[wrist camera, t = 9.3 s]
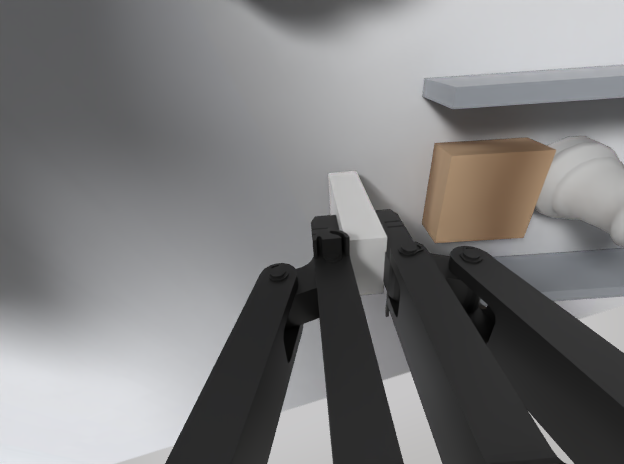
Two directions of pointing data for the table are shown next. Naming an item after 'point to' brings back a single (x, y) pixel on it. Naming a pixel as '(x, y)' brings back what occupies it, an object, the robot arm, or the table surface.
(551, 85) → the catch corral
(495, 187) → the walnut tile
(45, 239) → the table surface
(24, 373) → the table surface
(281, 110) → the table surface
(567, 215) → the rook chess piece
